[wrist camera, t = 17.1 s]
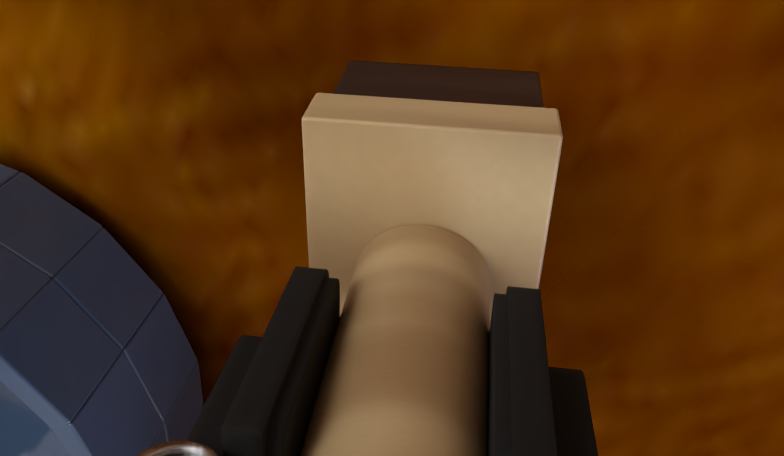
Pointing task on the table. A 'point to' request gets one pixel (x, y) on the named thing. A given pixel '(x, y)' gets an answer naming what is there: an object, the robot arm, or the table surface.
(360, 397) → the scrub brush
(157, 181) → the table surface
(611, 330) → the table surface
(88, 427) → the bowl
